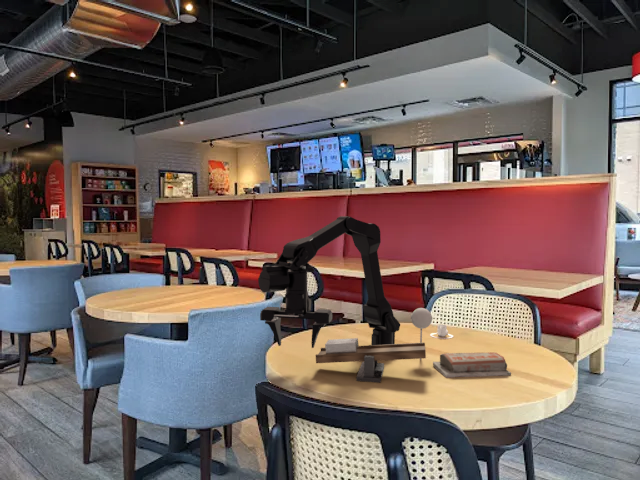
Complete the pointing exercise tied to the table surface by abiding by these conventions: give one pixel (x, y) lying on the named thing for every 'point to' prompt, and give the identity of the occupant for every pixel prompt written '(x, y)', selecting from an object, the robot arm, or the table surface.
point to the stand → (370, 370)
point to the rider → (342, 346)
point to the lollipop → (421, 319)
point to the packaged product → (471, 364)
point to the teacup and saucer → (442, 331)
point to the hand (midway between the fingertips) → (296, 346)
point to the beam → (376, 353)
